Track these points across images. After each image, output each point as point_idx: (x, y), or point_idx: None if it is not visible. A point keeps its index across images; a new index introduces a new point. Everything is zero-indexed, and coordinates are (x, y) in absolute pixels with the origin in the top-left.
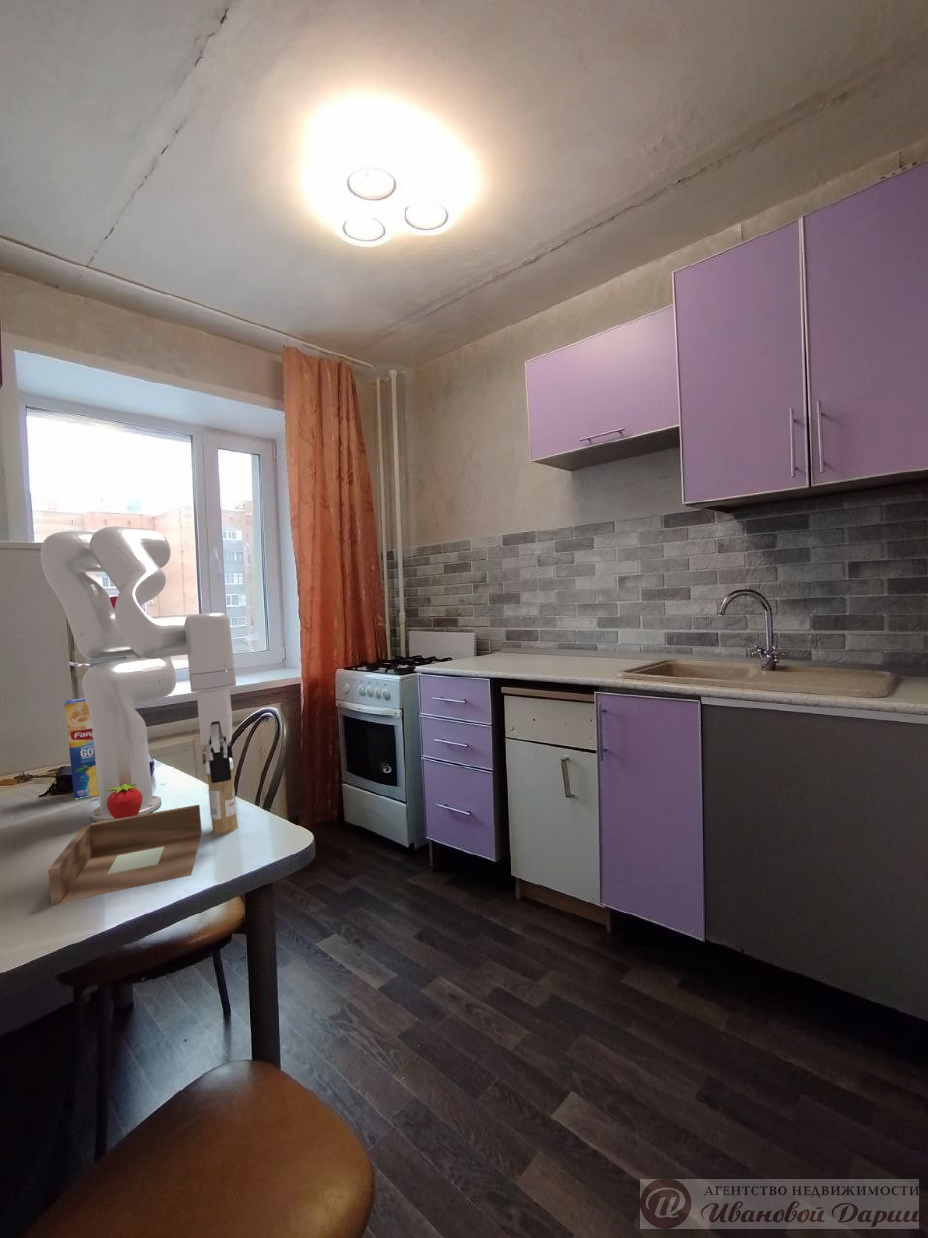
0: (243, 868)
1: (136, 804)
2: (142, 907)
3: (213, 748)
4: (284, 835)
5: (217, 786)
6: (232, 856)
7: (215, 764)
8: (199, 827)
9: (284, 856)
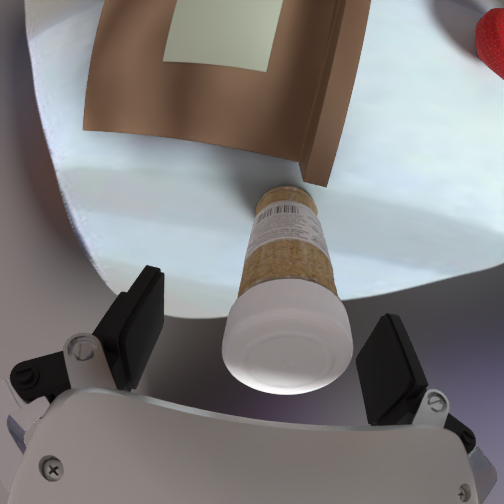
0: (85, 211)
1: (494, 58)
2: (47, 69)
3: (5, 380)
4: (184, 297)
5: (245, 271)
6: (138, 202)
7: (97, 333)
8: (300, 163)
9: (101, 271)
